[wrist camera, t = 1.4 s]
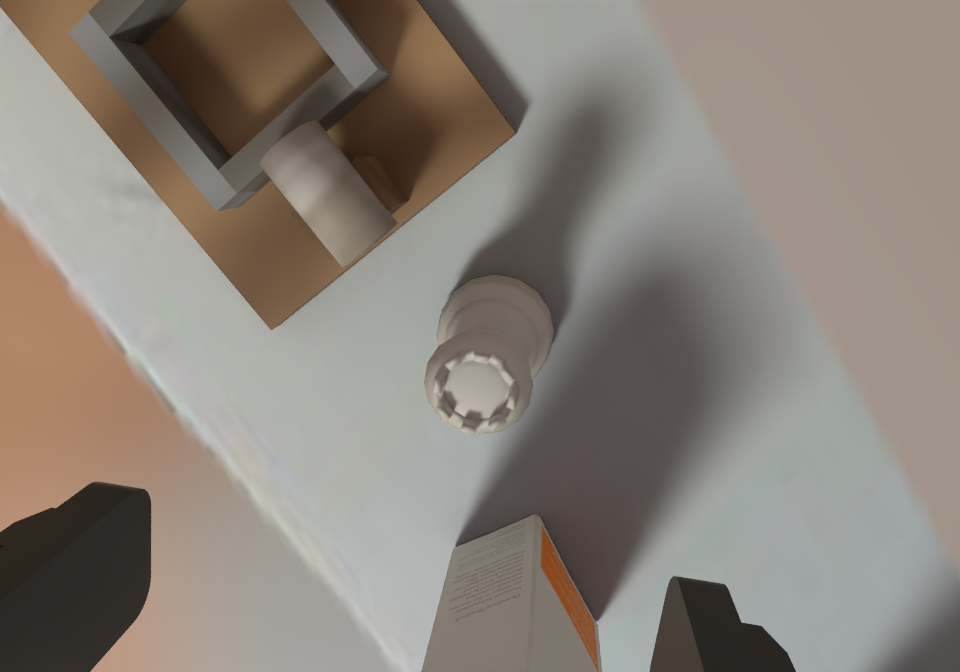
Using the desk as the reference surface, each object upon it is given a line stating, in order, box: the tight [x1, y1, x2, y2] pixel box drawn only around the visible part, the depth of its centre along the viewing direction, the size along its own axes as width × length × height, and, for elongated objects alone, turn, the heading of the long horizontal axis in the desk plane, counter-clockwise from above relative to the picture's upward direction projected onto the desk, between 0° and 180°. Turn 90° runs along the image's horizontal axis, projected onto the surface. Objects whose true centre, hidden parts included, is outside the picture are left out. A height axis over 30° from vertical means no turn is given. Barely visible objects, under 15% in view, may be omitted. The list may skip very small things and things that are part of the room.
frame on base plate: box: [0, 0, 517, 330], centre depth 25 cm, size 16×12×5 cm
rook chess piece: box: [424, 274, 554, 435], centre depth 25 cm, size 4×4×8 cm
